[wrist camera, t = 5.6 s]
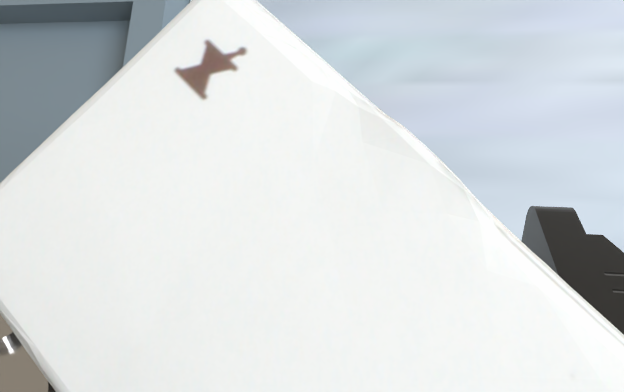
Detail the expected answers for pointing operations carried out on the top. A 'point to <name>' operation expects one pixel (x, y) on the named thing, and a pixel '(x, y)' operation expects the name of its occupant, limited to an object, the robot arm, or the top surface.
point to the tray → (64, 61)
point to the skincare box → (271, 239)
